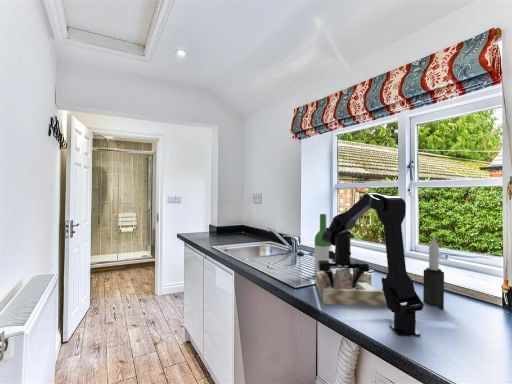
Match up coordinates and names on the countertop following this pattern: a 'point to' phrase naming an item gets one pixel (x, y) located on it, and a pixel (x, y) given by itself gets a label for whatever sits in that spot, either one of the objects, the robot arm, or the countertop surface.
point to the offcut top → (364, 286)
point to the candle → (433, 279)
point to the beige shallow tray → (348, 292)
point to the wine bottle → (321, 244)
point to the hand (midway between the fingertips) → (342, 287)
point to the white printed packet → (342, 279)
